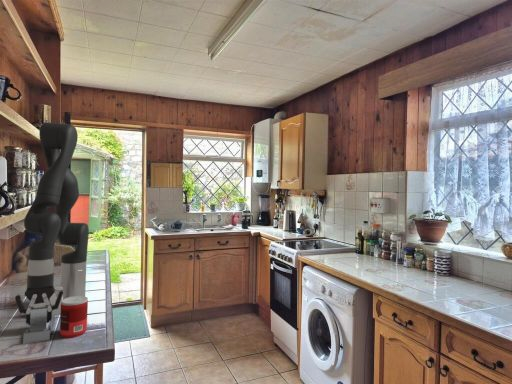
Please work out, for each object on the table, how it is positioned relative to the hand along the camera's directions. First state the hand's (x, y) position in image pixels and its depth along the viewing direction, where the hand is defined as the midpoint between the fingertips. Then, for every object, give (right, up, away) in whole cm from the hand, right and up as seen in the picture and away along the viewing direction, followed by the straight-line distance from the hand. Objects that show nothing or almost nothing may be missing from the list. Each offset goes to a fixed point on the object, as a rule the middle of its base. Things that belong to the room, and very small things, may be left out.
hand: (38, 323), depth 112 cm
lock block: (0, -1, 0) cm, 1 cm away
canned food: (+13, -3, -2) cm, 13 cm away
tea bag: (-4, -2, +14) cm, 15 cm away
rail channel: (+3, -2, -5) cm, 6 cm away
